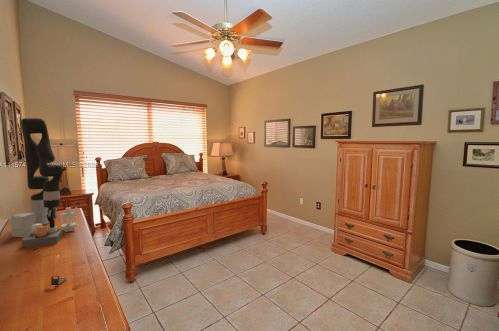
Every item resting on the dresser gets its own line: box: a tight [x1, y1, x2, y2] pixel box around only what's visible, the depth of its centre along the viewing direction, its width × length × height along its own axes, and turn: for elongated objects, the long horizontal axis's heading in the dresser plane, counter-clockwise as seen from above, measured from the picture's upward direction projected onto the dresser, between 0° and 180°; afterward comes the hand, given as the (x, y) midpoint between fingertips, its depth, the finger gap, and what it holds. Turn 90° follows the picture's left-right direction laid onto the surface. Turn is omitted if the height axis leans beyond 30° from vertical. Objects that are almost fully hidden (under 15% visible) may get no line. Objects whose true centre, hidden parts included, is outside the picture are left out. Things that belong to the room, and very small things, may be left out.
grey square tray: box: [21, 228, 63, 248], centre depth 137 cm, size 14×15×4 cm
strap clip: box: [50, 274, 68, 286], centre depth 96 cm, size 8×3×4 cm, turn 179°
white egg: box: [32, 223, 43, 235], centre depth 137 cm, size 4×4×6 cm
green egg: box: [47, 225, 58, 233], centre depth 141 cm, size 4×4×6 cm
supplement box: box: [11, 212, 34, 238], centre depth 143 cm, size 7×7×13 cm
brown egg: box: [37, 225, 48, 238], centre depth 134 cm, size 4×4×6 cm
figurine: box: [58, 206, 79, 233], centre depth 154 cm, size 7×9×15 cm
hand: (52, 227), depth 140 cm, fingers closed
